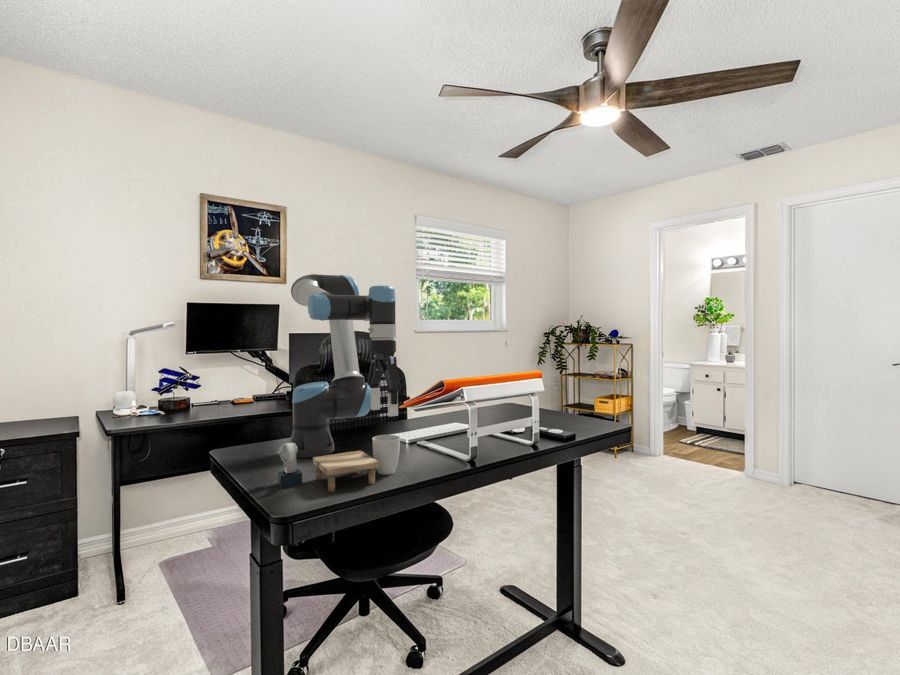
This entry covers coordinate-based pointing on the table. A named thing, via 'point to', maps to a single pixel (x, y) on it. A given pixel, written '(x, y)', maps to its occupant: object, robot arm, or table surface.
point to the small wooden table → (344, 466)
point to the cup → (386, 453)
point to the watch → (289, 466)
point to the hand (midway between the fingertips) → (383, 412)
